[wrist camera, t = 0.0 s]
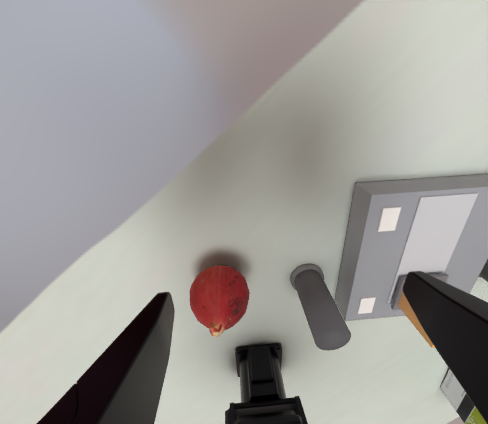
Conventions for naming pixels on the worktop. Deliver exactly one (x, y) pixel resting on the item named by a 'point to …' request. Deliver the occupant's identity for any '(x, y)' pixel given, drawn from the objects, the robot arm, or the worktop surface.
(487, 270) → the cable post
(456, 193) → the panel
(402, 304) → the block
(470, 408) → the tea box
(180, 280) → the worktop surface
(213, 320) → the onion
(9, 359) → the worktop surface
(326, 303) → the cable post
